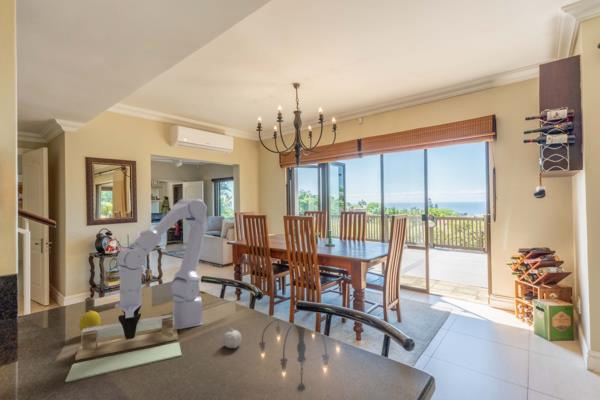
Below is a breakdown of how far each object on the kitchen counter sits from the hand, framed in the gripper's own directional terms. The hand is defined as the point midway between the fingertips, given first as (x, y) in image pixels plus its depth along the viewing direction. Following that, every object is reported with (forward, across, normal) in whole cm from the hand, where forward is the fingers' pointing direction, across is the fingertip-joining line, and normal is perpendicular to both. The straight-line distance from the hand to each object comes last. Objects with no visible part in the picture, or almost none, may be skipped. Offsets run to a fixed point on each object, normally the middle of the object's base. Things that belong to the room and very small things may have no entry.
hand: (130, 333), depth 89 cm
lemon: (+4, -13, -12) cm, 18 cm away
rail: (-1, 0, 0) cm, 1 cm away
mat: (+3, +10, 0) cm, 11 cm away
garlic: (+4, +15, +27) cm, 31 cm away
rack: (+3, 0, 0) cm, 3 cm away
